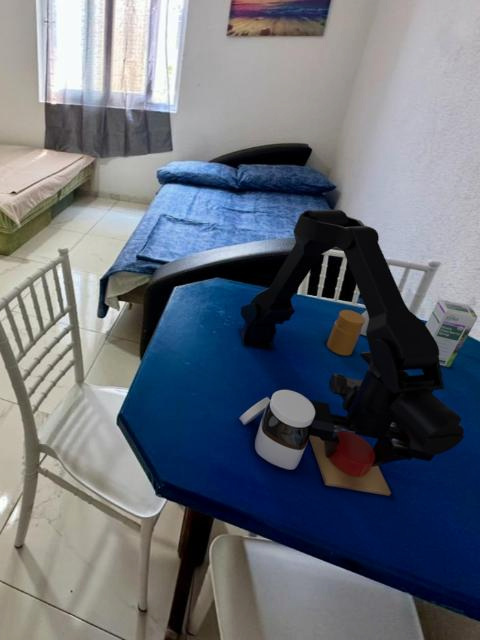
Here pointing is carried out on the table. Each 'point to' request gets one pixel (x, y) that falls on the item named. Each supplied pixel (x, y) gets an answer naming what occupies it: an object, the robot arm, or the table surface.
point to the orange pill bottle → (345, 332)
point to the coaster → (337, 478)
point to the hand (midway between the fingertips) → (347, 460)
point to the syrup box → (450, 328)
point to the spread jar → (282, 427)
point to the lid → (353, 455)
